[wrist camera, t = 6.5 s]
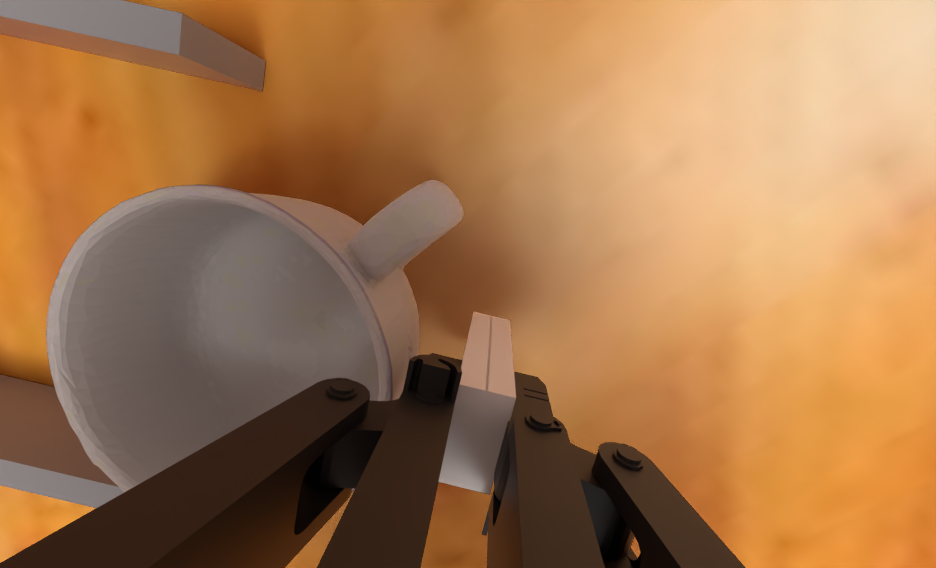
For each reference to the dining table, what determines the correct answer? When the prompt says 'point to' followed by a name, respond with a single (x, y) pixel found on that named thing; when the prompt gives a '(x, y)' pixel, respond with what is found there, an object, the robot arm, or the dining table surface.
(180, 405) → the teacup
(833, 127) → the dining table surface
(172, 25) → the box
